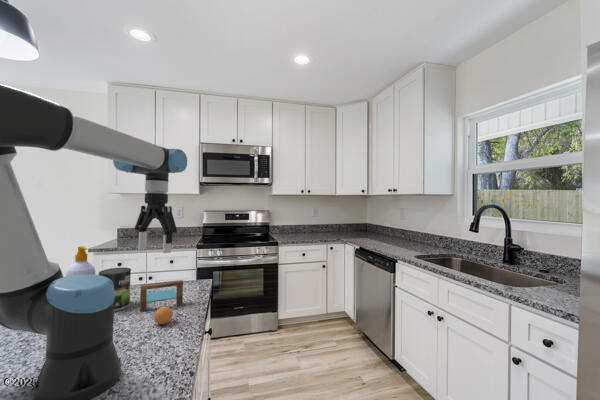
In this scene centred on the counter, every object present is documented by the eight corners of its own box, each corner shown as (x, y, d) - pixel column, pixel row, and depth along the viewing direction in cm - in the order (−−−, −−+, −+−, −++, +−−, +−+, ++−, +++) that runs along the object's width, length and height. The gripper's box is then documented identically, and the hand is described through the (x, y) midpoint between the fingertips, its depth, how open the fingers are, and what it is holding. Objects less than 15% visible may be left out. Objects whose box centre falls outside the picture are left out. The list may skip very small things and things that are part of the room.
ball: (167, 327, 87) (167, 310, 87) (150, 327, 87) (151, 310, 87) (175, 320, 93) (175, 304, 93) (159, 319, 93) (160, 304, 93)
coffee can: (136, 302, 108) (136, 267, 108) (118, 312, 98) (119, 274, 98) (111, 301, 108) (111, 266, 109) (90, 312, 98) (91, 273, 98)
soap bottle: (68, 317, 93) (70, 249, 93) (61, 310, 99) (63, 246, 99) (98, 310, 100) (100, 246, 100) (90, 303, 106) (92, 243, 106)
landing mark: (176, 297, 114) (176, 297, 114) (144, 302, 108) (144, 302, 108) (174, 289, 124) (174, 289, 124) (144, 293, 118) (144, 293, 118)
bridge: (182, 305, 106) (182, 281, 106) (140, 311, 99) (140, 287, 99) (181, 302, 109) (182, 279, 109) (140, 308, 102) (140, 284, 102)
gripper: (189, 193, 96) (186, 252, 95) (144, 193, 107) (142, 246, 106) (170, 192, 89) (168, 255, 88) (125, 192, 100) (123, 249, 99)
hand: (154, 251), depth 97 cm, fingers open, 13 cm apart
